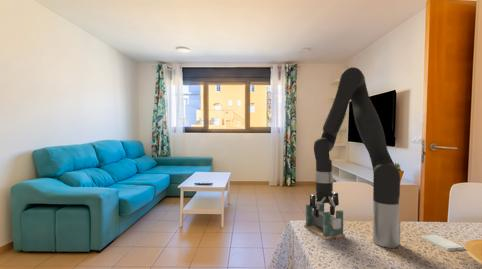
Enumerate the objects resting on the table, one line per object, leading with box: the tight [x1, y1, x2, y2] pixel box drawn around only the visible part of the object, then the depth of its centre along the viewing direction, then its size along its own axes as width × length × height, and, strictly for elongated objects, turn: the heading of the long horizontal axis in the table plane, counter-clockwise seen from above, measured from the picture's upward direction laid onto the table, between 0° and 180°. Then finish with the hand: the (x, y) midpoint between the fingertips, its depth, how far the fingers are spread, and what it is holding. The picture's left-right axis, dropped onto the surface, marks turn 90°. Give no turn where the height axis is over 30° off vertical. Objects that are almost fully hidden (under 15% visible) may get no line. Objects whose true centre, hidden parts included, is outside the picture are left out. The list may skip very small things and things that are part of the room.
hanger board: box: [304, 203, 346, 241], centre depth 117 cm, size 10×16×11 cm, turn 20°
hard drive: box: [419, 234, 465, 252], centre depth 105 cm, size 2×8×12 cm
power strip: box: [313, 209, 341, 229], centre depth 117 cm, size 4×19×6 cm, turn 19°
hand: (324, 216), depth 117 cm, fingers open, 8 cm apart
